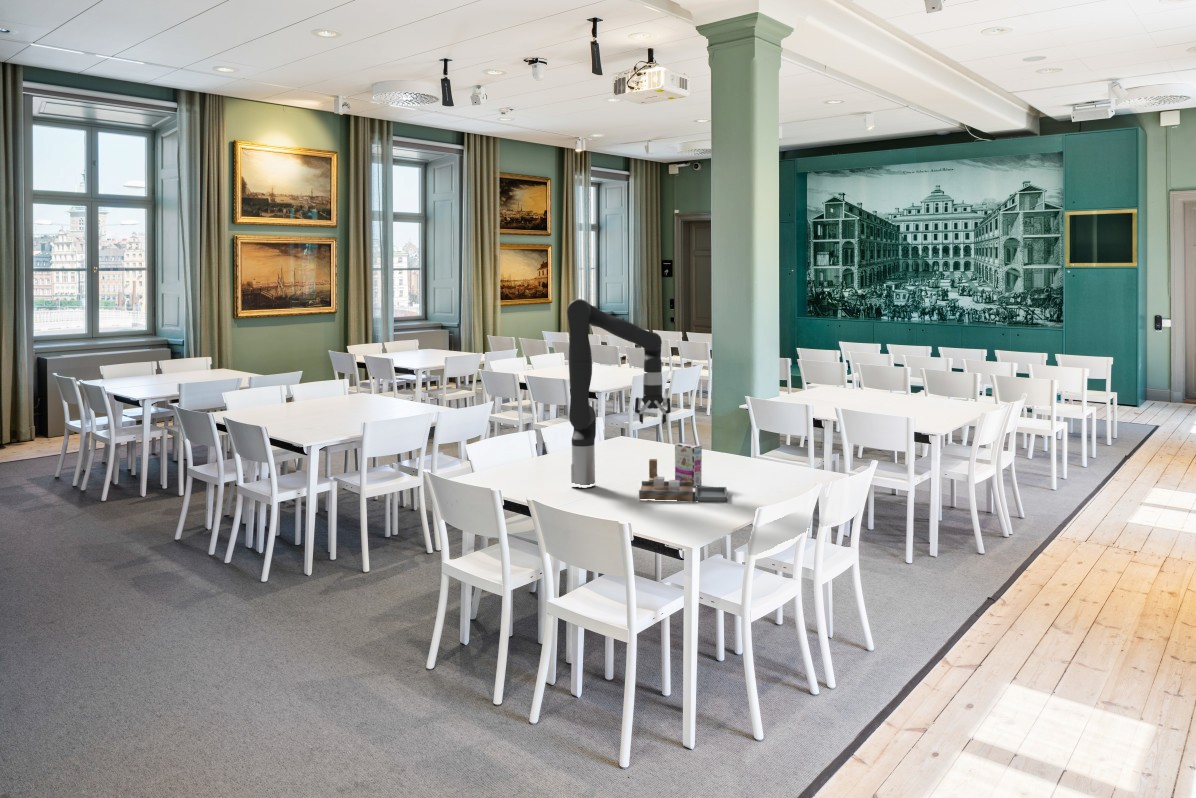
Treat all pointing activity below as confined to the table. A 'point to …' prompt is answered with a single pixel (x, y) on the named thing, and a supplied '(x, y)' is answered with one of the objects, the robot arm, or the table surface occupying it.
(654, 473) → the tan stepped block
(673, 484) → the gray cube
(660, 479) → the grey cube
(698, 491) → the tray
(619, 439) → the table surface
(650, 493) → the slot board
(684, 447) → the candy bar box
